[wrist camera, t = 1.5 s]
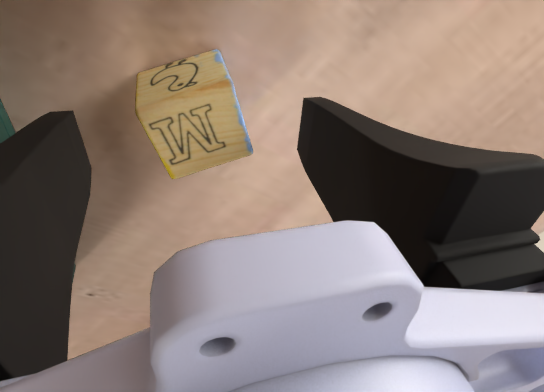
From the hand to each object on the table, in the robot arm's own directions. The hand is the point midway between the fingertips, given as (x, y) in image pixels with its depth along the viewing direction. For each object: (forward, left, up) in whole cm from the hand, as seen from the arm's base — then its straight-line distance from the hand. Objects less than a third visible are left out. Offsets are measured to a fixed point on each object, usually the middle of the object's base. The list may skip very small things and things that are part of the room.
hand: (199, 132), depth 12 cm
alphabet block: (0, 0, -3) cm, 3 cm away
